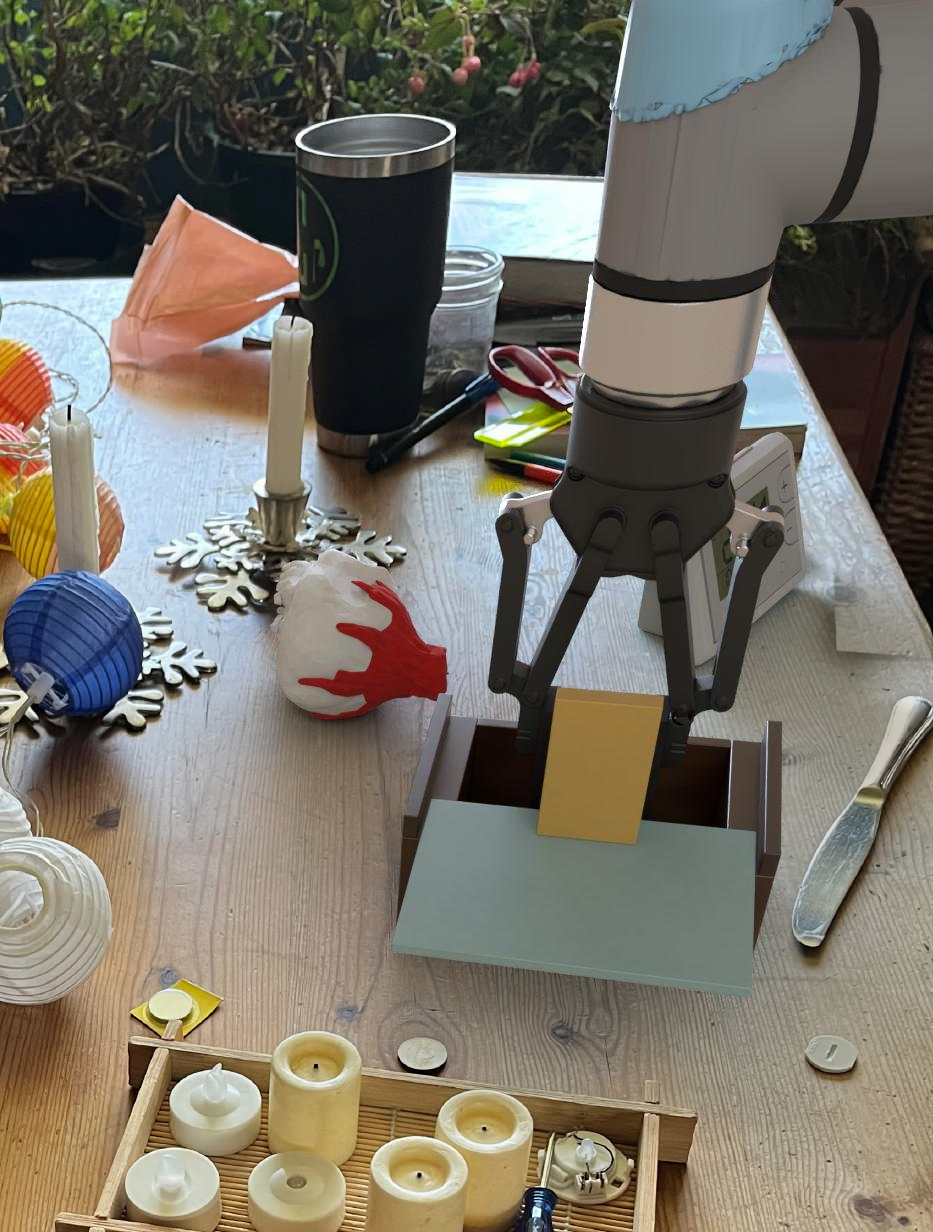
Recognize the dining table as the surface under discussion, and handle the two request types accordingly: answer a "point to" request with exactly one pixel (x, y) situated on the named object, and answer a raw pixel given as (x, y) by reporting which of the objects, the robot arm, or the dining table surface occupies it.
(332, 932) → the dining table surface
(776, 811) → the case
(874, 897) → the dining table surface
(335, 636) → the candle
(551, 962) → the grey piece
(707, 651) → the digital clock
